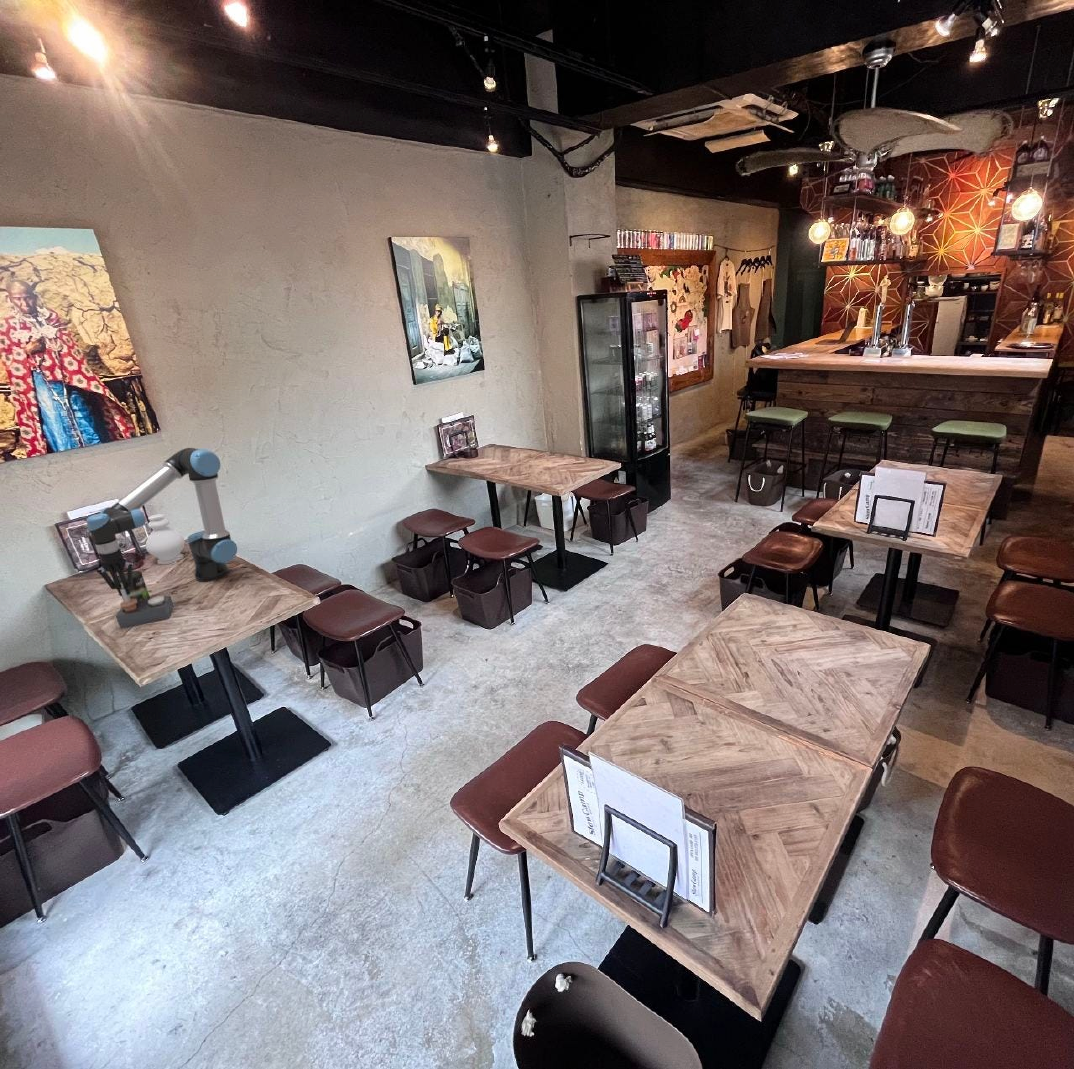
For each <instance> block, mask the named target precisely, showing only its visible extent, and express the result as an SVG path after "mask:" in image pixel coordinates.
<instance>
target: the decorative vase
mask: <svg viewBox="0 0 1074 1069" xmlns="http://www.w3.org/2000/svg"><path fill="white" fill-rule="evenodd" d="M165 517H166V515H165V513H157V514H153V515H150V516H148V518H147V519H148V520H149V522H148V524H147V526H148V528H149V529H152V531H151V532H150V534H149V535H148V538H147V539H146V542H145V549H146V551H147V552H148V553H149V554H151V556H153V557H155V558H156V559H157V560H156V563H157V564H159V565H167V564H172V563H175V562H178V561H181V560H182V559H183V558H184V557H185V556H184V554H182V553H181V552H182V550H183V549H184V546H185V542H186V540H185V538H184V536H183V535H182V534H181V533H180V532H178V531H177V530H175V529H174V528H171V527H169V526H168V525H169V524H170V521H169V519H168V518H165Z"/></svg>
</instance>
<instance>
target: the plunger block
mask: <svg viewBox="0 0 1074 1069" xmlns="http://www.w3.org/2000/svg"><path fill="white" fill-rule="evenodd" d="M162 596H163V597H164V599H165V600H164V601H163V604H160V605H155V606H152V605H149V604H148V600H149V599H147V600H142V601H137V604H136V606H137V608H136V609H135V610H130V611H125V610H124V608H122V607H120V609H119V611H118V612H117V614H116V616H115V617H116V620H117V623H118V625H119V628H120V629H126V628H127V629H128V628H131V627H136V626H141V625H145V624H149V623H155V622H159V621H165V620H169V619H170V617H171V615H172V612H173V610H174V608H175V605H174V602H173V599H172V596H171V594H167V595H162Z"/></svg>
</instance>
